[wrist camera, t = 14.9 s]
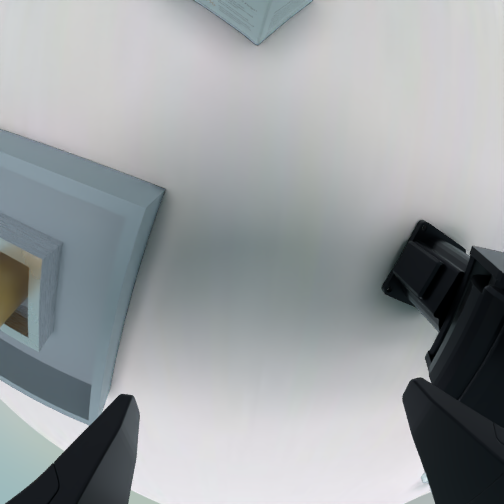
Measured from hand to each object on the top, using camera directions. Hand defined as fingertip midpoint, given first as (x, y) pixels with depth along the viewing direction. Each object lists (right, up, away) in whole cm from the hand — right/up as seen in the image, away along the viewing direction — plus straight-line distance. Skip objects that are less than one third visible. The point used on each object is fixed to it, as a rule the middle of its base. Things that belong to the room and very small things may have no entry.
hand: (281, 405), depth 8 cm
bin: (-20, +4, +11) cm, 23 cm away
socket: (-20, +4, +11) cm, 23 cm away
